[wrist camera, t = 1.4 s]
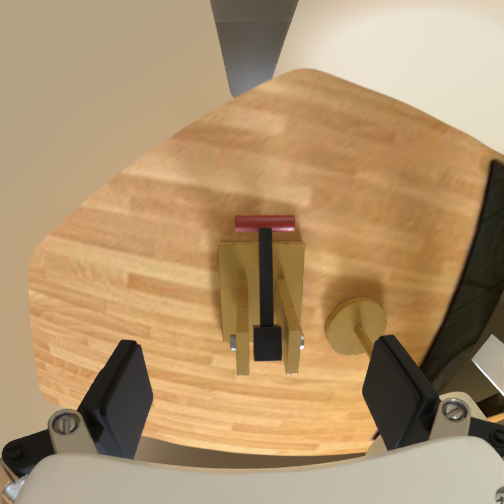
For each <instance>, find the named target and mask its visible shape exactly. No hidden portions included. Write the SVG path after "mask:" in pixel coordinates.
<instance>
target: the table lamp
mask: <svg viewBox="0 0 504 504" xmlns="http://www.w3.org/2000/svg"><path fill="white" fill-rule="evenodd" d="M386 324H387V319H386V314H385V312H384V310H383V309H382V307H381V306H380V305H379V304H378V303H377V302H376V301H374V300H373V299H370V298H366V297H356V298H352V299H349V300H347V301H345V302H343V303H342V304H340V305H339V306H338V307H337V308H336V309H335V310H334V311H333V312H332V313H331V315H330V316H329V318H328V320H327V323H326V328H325V333H326V338H327V340H328V342H329V345H330V346H331V348H332V349H333V350H334V351H335V352H337V353H339V354H342V355H346V356H353V355H358V354H361V353H364V352H366V353H367V355H368V357H369V359H371V355H372V350H373V346H374V342H375V341H376V340H378V338H379V337H380V336H383V334H384V332H385V329H386ZM439 398H440V399H441V401H443V400H444V399H447V398H458V399H460V400H463V401H464V402H466V403H467V404H468V406H469V407H470V409H471V417H475V418H478V419H482V420H485V421H488V420H487V418H486V417H485V416H484V414H483V413H482V412H481V410H480V409H479V408H478V406H477V405H476V404H475V403H474V401H473V400H472V399H471V398H470V396H469V395H468V394H466V393H463V392H452V393H448V394H444V395H441V396H439ZM386 451H387V449H386V446H385V444H384V442H383V439H382V437H381V435H379V436H378V437H377V439H376V440H375V441H374V442H373V443H372V445H371V446H370V447H369V449H368V451H367V453H366V455H365V456H368V455H373V454H377V453H382V452H386Z"/></svg>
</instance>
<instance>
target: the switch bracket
mask: <svg viewBox="0 0 504 504" xmlns="http://www.w3.org/2000/svg"><path fill="white" fill-rule="evenodd" d="M304 251H305V244H304V242H303V241H272V252H273V301H274V324H279V325H280V326H281V327H282V355H283V360H284V366H285V371H286V374H298V367H299V358H300V349H303V347H304V336H303V333H302V329H301V326H300V317H301V303H302V288H303V271H304ZM218 255H219V278H220V298H221V316H222V333H223V342H224V343H230V349H231V351H236V360H237V375H238V376H249V342H253V325H260V300H259V241H258V242H219V244H218Z"/></svg>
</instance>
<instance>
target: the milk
mask: <svg viewBox="0 0 504 504" xmlns="http://www.w3.org/2000/svg"><path fill="white" fill-rule="evenodd" d="M472 361H473V362H474V363H475V364H476V365H477V367H478V368H479V369H480V370H481V371H482V372H483V373H484V374H485V375H486V377H487V378H488V379H489V380H490V381H491V382H492V383H493V384H494V385H495V386H496V387H497V389H498V390H499V391H500V392H501V393H502V394H503V395H504V344H503V343H501V341H499V340H498V339H497V338H496V337H495V336H494V335H493V334H491V336H490V337H489V338H488V340H487V341H486V342H485V343H484V344H483V346H482V347H481V348H480V349H479V351H478V352H477V353H476V354H475V355H474V357H473V358H472Z"/></svg>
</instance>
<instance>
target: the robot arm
mask: <svg viewBox="0 0 504 504" xmlns="http://www.w3.org/2000/svg"><path fill="white" fill-rule="evenodd" d="M362 394H363V397H364V399H365V401H366V404H367V406H368V408H369V410H370V412H371V415H372V417H373V419H374V421H375V424H376V426H377V428H378V430H379V433H380V435H381V437H382V439H383V442H384V444H385V446H386V449H387V451H386V452H382V453H377V454H373V455H368V456H364V457H359V458H353V459H348V460H342V461H336V462H329V463H322V464H314V465H306V466H296V467H284V468H265V469H217V468H198V467H186V466H175V465H167V464H159V463H151V462H144V461H138V460H133V459H134V456H135V453H136V450H137V447H138V444H139V440H140V437H141V434H142V431H143V428H144V425H145V422H146V419H147V416H148V413H149V410H150V407H151V404H152V401H153V392H152V388H151V385H150V381H149V377H148V373H147V369H146V365H145V361H144V357H143V352H142V348H141V345H139V344H137V342H136V341H134V340H121V341H120V342H119V344H118V346H117V347H116V349H115V350H114V352H113V354H112V355H111V357H110V358H109V360H108V362H107V363H106V365H105V367H104V368H103V369H102V370H101V371H100V372H99V374H98V375H97V377H96V379H95V380H94V382H93V384H92V385H91V387H90V389H89V390H88V392H87V394H86V395H85V397H84V399H83V400H82V402H81V404H80V406H79V407H78V409H77V411H76V410H73V409H63V410H59V411H57V412H55V413H54V414H53V415H52V416H51V417H50V419H49V421H48V429H46V430H43V431H41V432H38V433H35V434H32V435H29V436H26V437H23V438H19V439H16V440H13V441H11V442H9V443H8V444H7V445H6V446H5V447H4V448H3V451H2V458H0V504H504V426H503V425H500V424H496V423H493V422H489V421H485V420H482V419H478V418H475V417H471V409H470V407H469V406H468V404H467V403H466V402H464V401H463V400H460V399H458V398H447V399H444V400H443V401H441V399H440V398H439V394H438V393H437V391H436V390H435V389H434V387H433V386H432V385H431V383H430V382H429V380H428V379H427V378H426V376H425V375H424V374H423V372H422V371H421V370H420V368H419V367H418V366H417V364H416V363H415V362H414V360H413V359H412V358H411V356H410V355H409V354H408V353H407V351H406V350H405V349H404V347H403V346H402V345H401V344H400V342H399V341H398V340H397V338H396V337H395V336H394V335H385V336H380V337H379V338H378V340H376V341H375V342H374V346H373V350H372V355H371V359H370V362H369V366H368V370H367V374H366V377H365V381H364V385H363V388H362Z"/></svg>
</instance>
